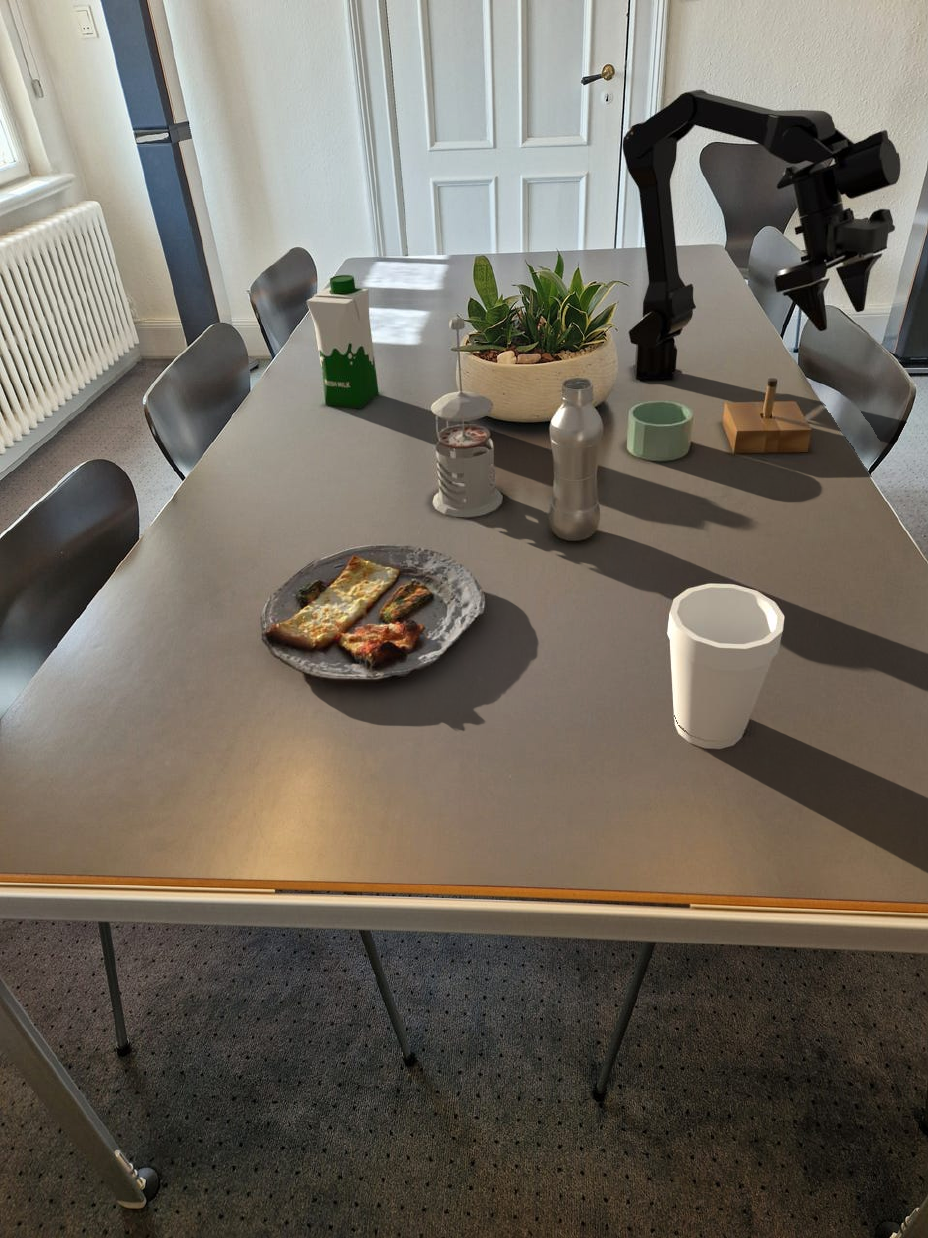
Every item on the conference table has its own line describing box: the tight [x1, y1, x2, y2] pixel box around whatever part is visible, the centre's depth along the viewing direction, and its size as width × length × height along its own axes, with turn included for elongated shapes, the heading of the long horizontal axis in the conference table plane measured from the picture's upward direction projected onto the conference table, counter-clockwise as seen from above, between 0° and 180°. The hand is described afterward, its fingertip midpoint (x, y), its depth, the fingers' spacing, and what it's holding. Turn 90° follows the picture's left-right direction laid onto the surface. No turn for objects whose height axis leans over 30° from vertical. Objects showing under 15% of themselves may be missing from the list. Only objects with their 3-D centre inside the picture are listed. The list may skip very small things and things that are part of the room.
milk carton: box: [306, 274, 379, 410], centre depth 144 cm, size 9×9×20 cm
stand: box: [722, 400, 813, 454], centre depth 128 cm, size 10×10×4 cm
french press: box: [430, 317, 504, 518], centre depth 111 cm, size 10×12×25 cm
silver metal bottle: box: [548, 377, 604, 542], centre depth 103 cm, size 6×7×20 cm
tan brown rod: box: [763, 377, 778, 418], centre depth 126 cm, size 1×1×9 cm
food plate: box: [260, 543, 486, 684], centre depth 95 cm, size 25×23×4 cm
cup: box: [626, 400, 695, 462], centre depth 126 cm, size 9×9×6 cm
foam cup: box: [667, 583, 785, 750], centre depth 76 cm, size 10×9×13 cm
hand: (842, 320), depth 125 cm, fingers open, 9 cm apart
